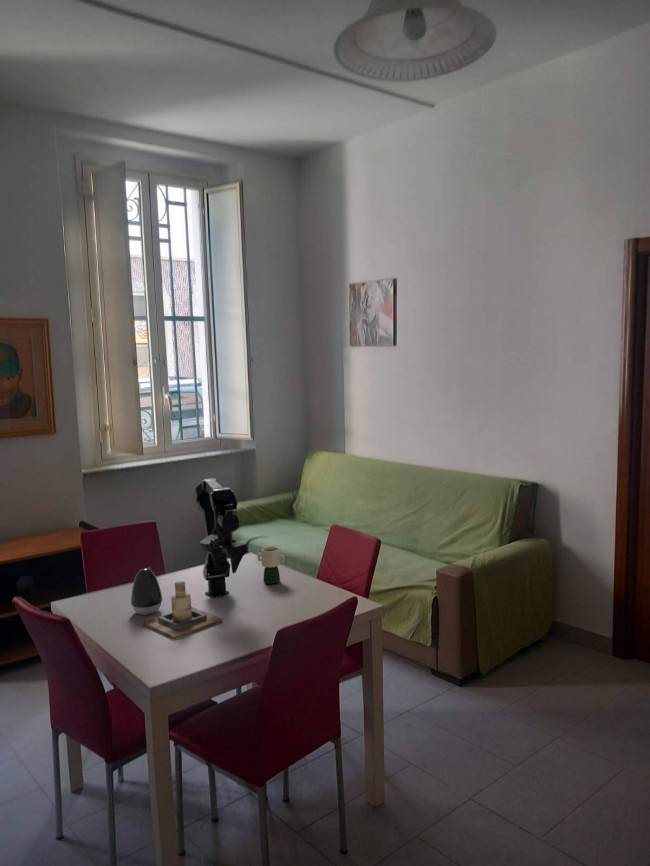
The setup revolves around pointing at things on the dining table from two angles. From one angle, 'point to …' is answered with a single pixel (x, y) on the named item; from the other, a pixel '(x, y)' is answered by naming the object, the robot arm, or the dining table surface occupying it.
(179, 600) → the wooden peg
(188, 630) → the board
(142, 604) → the black egg-shaped body
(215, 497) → the robot arm
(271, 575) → the cream and green trophy
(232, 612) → the dining table surface
